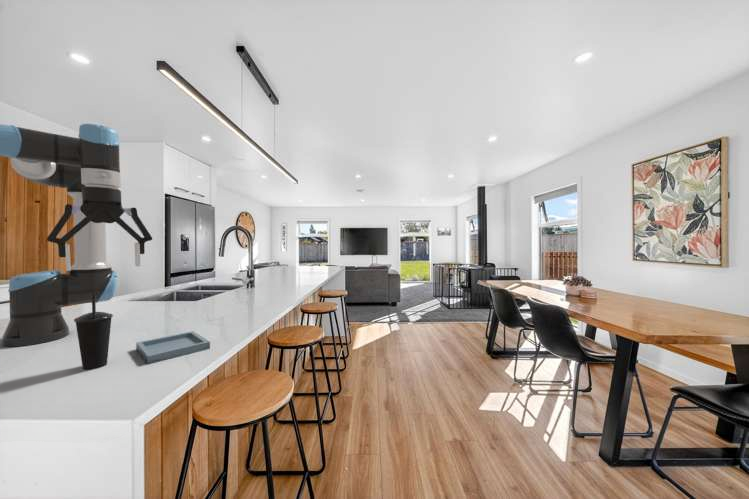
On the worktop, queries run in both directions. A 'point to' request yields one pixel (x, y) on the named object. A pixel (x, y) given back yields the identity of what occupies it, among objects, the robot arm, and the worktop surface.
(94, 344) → the drinking cup
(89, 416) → the worktop surface
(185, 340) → the slate tray
